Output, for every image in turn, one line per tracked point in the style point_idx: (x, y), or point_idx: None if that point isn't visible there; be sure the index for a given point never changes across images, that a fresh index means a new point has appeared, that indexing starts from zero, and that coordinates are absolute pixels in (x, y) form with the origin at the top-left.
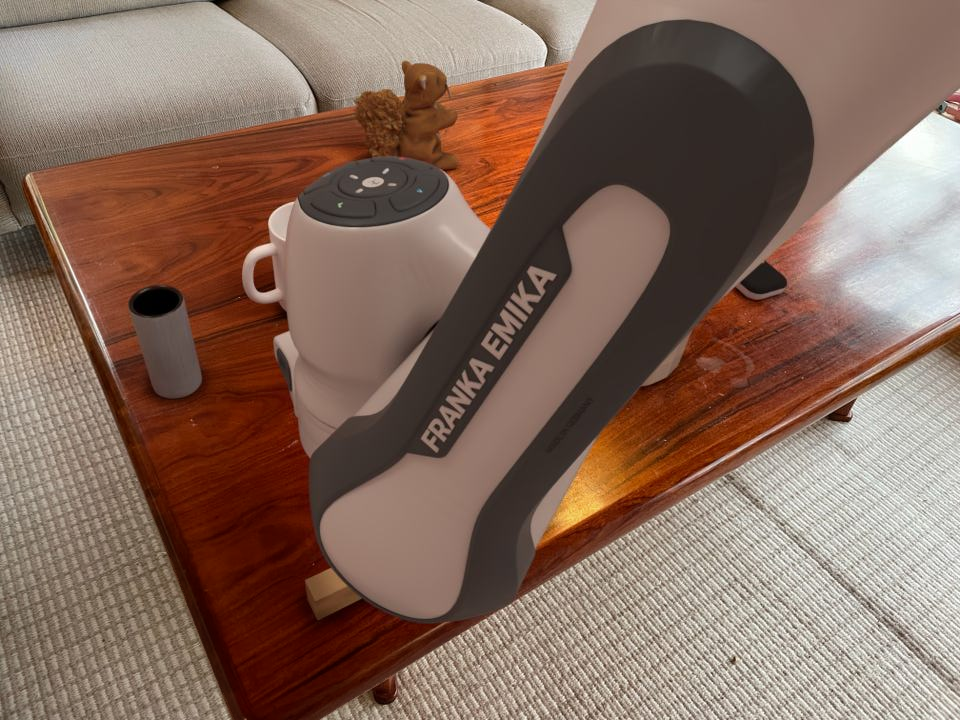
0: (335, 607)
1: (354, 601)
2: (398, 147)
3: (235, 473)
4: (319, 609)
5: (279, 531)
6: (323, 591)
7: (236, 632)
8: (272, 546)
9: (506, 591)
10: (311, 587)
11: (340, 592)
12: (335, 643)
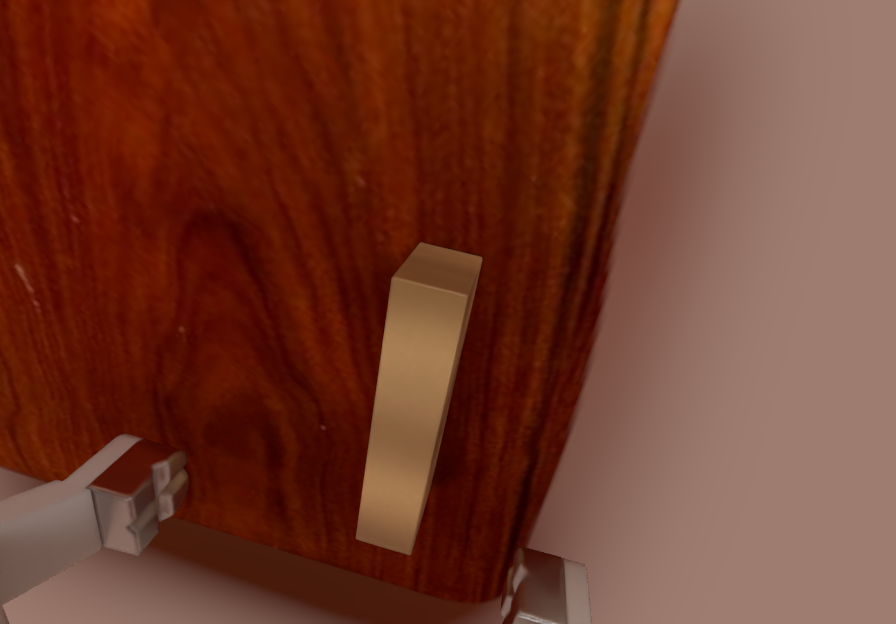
0: (432, 475)
1: (442, 435)
2: None
3: (70, 400)
4: (421, 518)
5: (226, 424)
6: (400, 535)
7: (366, 563)
8: (250, 449)
9: None
10: (378, 542)
11: (422, 506)
12: (487, 497)
